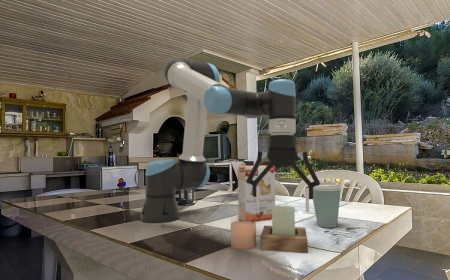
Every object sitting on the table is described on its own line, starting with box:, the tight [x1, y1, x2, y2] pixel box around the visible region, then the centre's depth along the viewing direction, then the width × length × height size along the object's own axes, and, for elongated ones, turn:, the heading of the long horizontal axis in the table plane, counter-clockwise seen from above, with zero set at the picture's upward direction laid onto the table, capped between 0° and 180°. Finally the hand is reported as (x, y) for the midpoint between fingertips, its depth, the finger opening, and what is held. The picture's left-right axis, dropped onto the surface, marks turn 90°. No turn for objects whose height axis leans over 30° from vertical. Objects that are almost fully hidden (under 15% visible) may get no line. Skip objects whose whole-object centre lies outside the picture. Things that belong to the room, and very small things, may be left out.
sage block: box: [271, 205, 296, 236], centre depth 81 cm, size 6×6×8 cm
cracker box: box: [237, 165, 276, 222], centre depth 112 cm, size 14×6×21 cm, turn 117°
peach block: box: [230, 220, 257, 250], centre depth 80 cm, size 7×7×6 cm
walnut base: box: [259, 225, 309, 254], centre depth 80 cm, size 12×12×4 cm
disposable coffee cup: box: [312, 181, 342, 228], centre depth 102 cm, size 11×11×15 cm
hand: (282, 209), depth 81 cm, fingers open, 13 cm apart
